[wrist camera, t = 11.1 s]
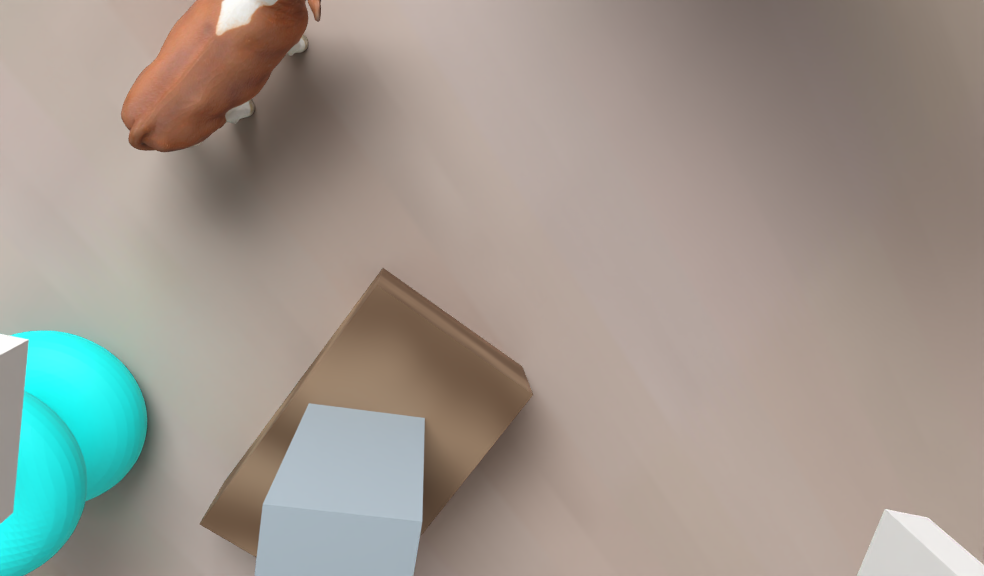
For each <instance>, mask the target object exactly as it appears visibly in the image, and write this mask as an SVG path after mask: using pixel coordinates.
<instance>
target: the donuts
mask: <svg viewBox="0 0 984 576" xmlns="http://www.w3.org/2000/svg"><path fill="white" fill-rule="evenodd" d="M10 336H13V337H18V338H23V339H28V340H29V343H28V354H27V365H26V376H25V387H24V398H23V409H22V420H21V431H20V442H19V453H18V464H17V475H16V486H15V497H14V508H13V513H12V514H11V515H10V516H9V517H8V518H7V519H5V520H4V521H3V522H2V523H1V524H0V576H24V575H26V574H28V573H30V572H31V571H33V570H35V569H36V568H38V567H40V566H41V565H43V564H44V563H45V562H47V561H48V560H49V559H50V558H52V557H53V556H54V555H55V554H56V553H57V552H58V551H59V550H60V549H61V548H62V546H63V545H64V544H65V543H66V542H67V541H68V539H69V538H70V536H71V535H72V533H73V532H74V530H75V528H76V526H77V524H78V522H79V520H80V517H81V515H82V512H83V509H84V505H85V501H88V500H90V499H93V498H95V497H97V496H99V495H101V494H102V493H104V492H106V491H108V490H109V489H111V488H112V487H113V486H115V485H116V484H117V483H118V482H120V481H121V480H122V479H123V478H124V477H125V475H126V474H127V473H128V472H129V471H130V470H131V468H132V467H133V465H134V464H135V463H136V461H137V459H138V457H139V455H140V453H141V451H142V448H143V445H144V442H145V438H146V432H147V411H146V405H145V401H144V398H143V395H142V392H141V390H140V388H139V386H138V384H137V382H136V380H135V379H134V377H133V376H132V374H131V373H130V371H129V370H128V369H127V368H126V366H125V365H124V364H123V363H122V362H121V361H120V360H119V359H118V358H117V357H115V356H114V355H113V354H112V353H110V352H109V351H107V350H106V349H104V348H103V347H101V346H100V345H98V344H96V343H94V342H92V341H90V340H88V339H85V338H83V337H80V336H77V335H73V334H69V333H64V332H58V331H29V332H22V333H17V334H13V335H10Z"/></svg>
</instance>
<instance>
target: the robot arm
mask: <svg viewBox="0 0 984 576" xmlns="http://www.w3.org/2000/svg"><path fill="white" fill-rule="evenodd" d="M28 343H29V340H28V339H23V338H18V337H13V336H8V335H3V334H0V524H1V523H2V522H3V521H4V520H5V519H7V518H8V517H9V516H10V515H11V514H12V513H13V508H14V497H15V486H16V475H17V464H18V453H19V442H20V431H21V420H22V409H23V398H24V387H25V376H26V365H27V354H28ZM857 576H984V565H983V564H982V563H981V562H980V561H978V560H977V559H976V558H975V557H974V556H973V555H971V554H970V553H969V552H968V551H967V550H965V549H964V548H963V547H962V546H961V545H960V544H958V543H957V542H956V541H955V540H954V539H953V538H951V537H950V536H949V535H948V534H947V533H945V532H944V531H943V530H942V529H941V528H940V527H938V526H937V525H936V524H935V523H934V522H933V521H931V520H930V519H929V518H928V517H923V516H918V515H913V514H908V513H903V512H898V511H893V510H888V509H885V510H884V512H883V515H882V517H881V519H880V522H879V524H878V527H877V529H876V531H875V534H874V536H873V539H872V541H871V543H870V546H869V548H868V551H867V553H866V555H865V558H864V560H863V563H862V565H861V567H860V570H859V572H858V575H857Z"/></svg>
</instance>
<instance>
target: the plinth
mask: <svg viewBox="0 0 984 576" xmlns="http://www.w3.org/2000/svg"><path fill="white" fill-rule="evenodd" d="M532 395H533V393H532V390H531V388H530V385H529V383H528V380H527V378H526V375H525V373H524V370H523V368H522V366H521V365H519V364H518V363H516V362H515V361H514V360H512V359H511V358H509V357H508V356H507V355H505V354H504V353H502V352H501V351H500V350H498V349H497V348H495V347H494V346H492V345H491V344H490V343H488V342H487V341H485V340H484V339H483V338H481V337H480V336H478V335H477V334H476V333H474V332H473V331H471V330H470V329H468V328H467V327H466V326H464V325H463V324H461V323H460V322H459V321H457V320H456V319H454V318H453V317H452V316H450V315H449V314H447V313H446V312H444V311H443V310H442V309H440V308H439V307H437V306H436V305H435V304H433V303H432V302H430V301H429V300H428V299H426V298H425V297H423V296H422V295H420V294H419V293H418V292H416V291H415V290H413V289H412V288H411V287H409V286H408V285H406V284H405V283H404V282H402V281H401V280H399V279H398V278H397V277H395V276H394V275H392V274H391V273H389V272H388V271H387V270H385V269H384V268H383V269H382V270H381V271H380V273H379V274H378V275H377V277H376V278H375V279H374V281H373V282H372V283H371V285H370V286H369V287H368V289H367V290H366V292H365V293H364V294H363V296H362V297H361V298H360V300H359V301H358V302H357V304H356V305H355V306H354V308H353V309H352V310H351V312H350V313H349V314H348V316H347V317H346V319H345V320H344V321H343V323H342V324H341V325H340V327H339V328H338V329H337V331H336V332H335V333H334V335H333V336H332V337H331V339H330V340H329V341H328V343H327V344H326V345H325V347H324V348H323V350H322V351H321V352H320V354H319V355H318V356H317V358H316V359H315V360H314V362H313V363H312V364H311V366H310V367H309V368H308V370H307V371H306V372H305V374H304V375H303V377H302V378H301V379H300V381H299V382H298V383H297V385H296V386H295V387H294V389H293V390H292V391H291V393H290V394H289V395H288V397H287V398H286V399H285V401H284V402H283V404H282V405H281V406H280V408H279V409H278V410H277V412H276V413H275V414H274V416H273V417H272V418H271V420H270V421H269V422H268V424H267V425H266V426H265V428H264V429H263V431H262V432H261V433H260V435H259V436H258V437H257V439H256V440H255V441H254V443H253V444H252V445H251V447H250V448H249V449H248V451H247V452H246V453H245V455H244V456H243V458H242V459H241V460H240V462H239V463H238V464H237V466H236V467H235V468H234V470H233V471H232V472H231V474H230V475H229V476H228V478H227V479H226V480H225V482H224V484H223V485H222V487H221V489H220V490H219V492H218V494H217V495H216V497H215V499H214V500H213V502H212V504H211V505H210V507H209V509H208V510H207V512H206V514H205V516H204V517H203V519H202V521H201V522H200V525H202V526H204V527H205V528H207V529H209V530H210V531H212V532H214V533H216V534H217V535H219V536H221V537H222V538H224V539H226V540H228V541H229V542H231V543H233V544H234V545H236V546H238V547H240V548H241V549H243V550H245V551H246V552H248V553H250V554H252V555H253V556H255V557H257V550H258V541H259V533H260V524H261V515H262V507H263V503H264V500H265V498H266V496H267V494H268V492H269V489H270V487H271V485H272V483H273V481H274V479H275V476H276V474H277V472H278V470H279V468H280V465H281V463H282V461H283V459H284V457H285V454H286V452H287V450H288V448H289V446H290V443H291V441H292V439H293V437H294V435H295V433H296V430H297V428H298V426H299V424H300V422H301V419H302V417H303V415H304V413H305V411H306V408H307V406H308V404H309V403H311V404H318V405H326V406H334V407H342V408H350V409H358V410H366V411H374V412H382V413H389V414H397V415H405V416H413V417H421V418H425V432H424V473H423V515H422V527H421V533H420V536H421V535H422V534H423V532H424V531H425V530H426V529H427V527H428V526H429V525H430V524H431V522H432V521H433V520H434V519H435V517H436V516H437V515H438V514H439V512H440V511H441V510H442V508H443V507H444V506H445V505H446V503H447V502H448V501H449V500H450V498H451V497H452V496H453V495H454V493H455V492H456V491H457V490H458V488H459V487H460V486H461V485H462V483H463V482H464V481H465V480H466V478H467V477H468V476H469V475H470V473H471V472H472V471H473V470H474V468H475V467H476V466H477V465H478V463H479V462H480V461H481V459H482V458H483V457H484V456H485V454H486V453H487V452H488V451H489V449H490V448H491V447H492V446H493V444H494V443H495V442H496V441H497V439H498V438H499V437H500V436H501V434H502V433H503V432H504V431H505V429H506V428H507V427H508V426H509V424H510V423H511V422H512V421H513V419H514V418H515V417H516V416H517V414H518V413H519V412H520V411H521V409H522V408H523V407H524V405H525V404H526V403H527V402H528V400H529V399H530V398H531V397H532Z"/></svg>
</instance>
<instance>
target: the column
mask: <svg viewBox="0 0 984 576" xmlns="http://www.w3.org/2000/svg"><path fill="white" fill-rule="evenodd" d="M424 432H425V418H421V417H413V416H405V415H397V414H389V413H382V412H374V411H366V410H358V409H350V408H342V407H334V406H326V405H318V404H311V403H309V404H308V406H307V408H306V411H305V413H304V415H303V417H302V419H301V422H300V424H299V426H298V428H297V430H296V433H295V435H294V437H293V439H292V441H291V443H290V446H289V448H288V450H287V452H286V454H285V457H284V459H283V461H282V463H281V465H280V468H279V470H278V472H277V474H276V476H275V479H274V481H273V483H272V485H271V487H270V489H269V492H268V494H267V496H266V498H265V500H264V503H263V507H262V515H261V524H260V533H259V541H258V550H257V559H256V567H255V576H413V575H414V569H415V563H416V557H417V551H418V545H419V539H420V533H421V527H422V515H423V473H424Z"/></svg>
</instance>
